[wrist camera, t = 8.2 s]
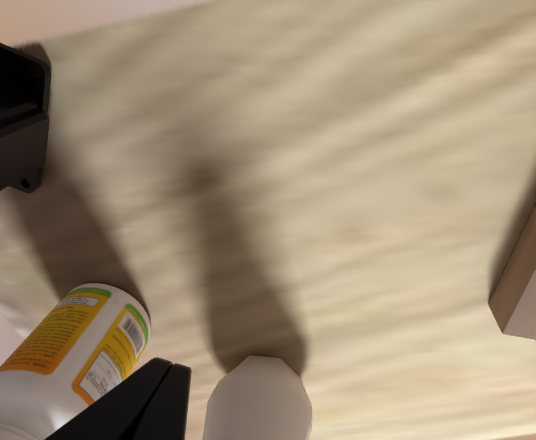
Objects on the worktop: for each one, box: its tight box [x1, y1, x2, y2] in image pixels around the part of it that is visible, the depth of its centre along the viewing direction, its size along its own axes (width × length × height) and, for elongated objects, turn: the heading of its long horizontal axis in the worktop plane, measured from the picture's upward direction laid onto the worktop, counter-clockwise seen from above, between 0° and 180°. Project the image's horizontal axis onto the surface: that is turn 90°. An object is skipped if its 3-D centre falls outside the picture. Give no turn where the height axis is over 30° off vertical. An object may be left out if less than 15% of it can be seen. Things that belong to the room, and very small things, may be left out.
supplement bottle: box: [0, 283, 151, 440], centre depth 20 cm, size 5×5×10 cm
